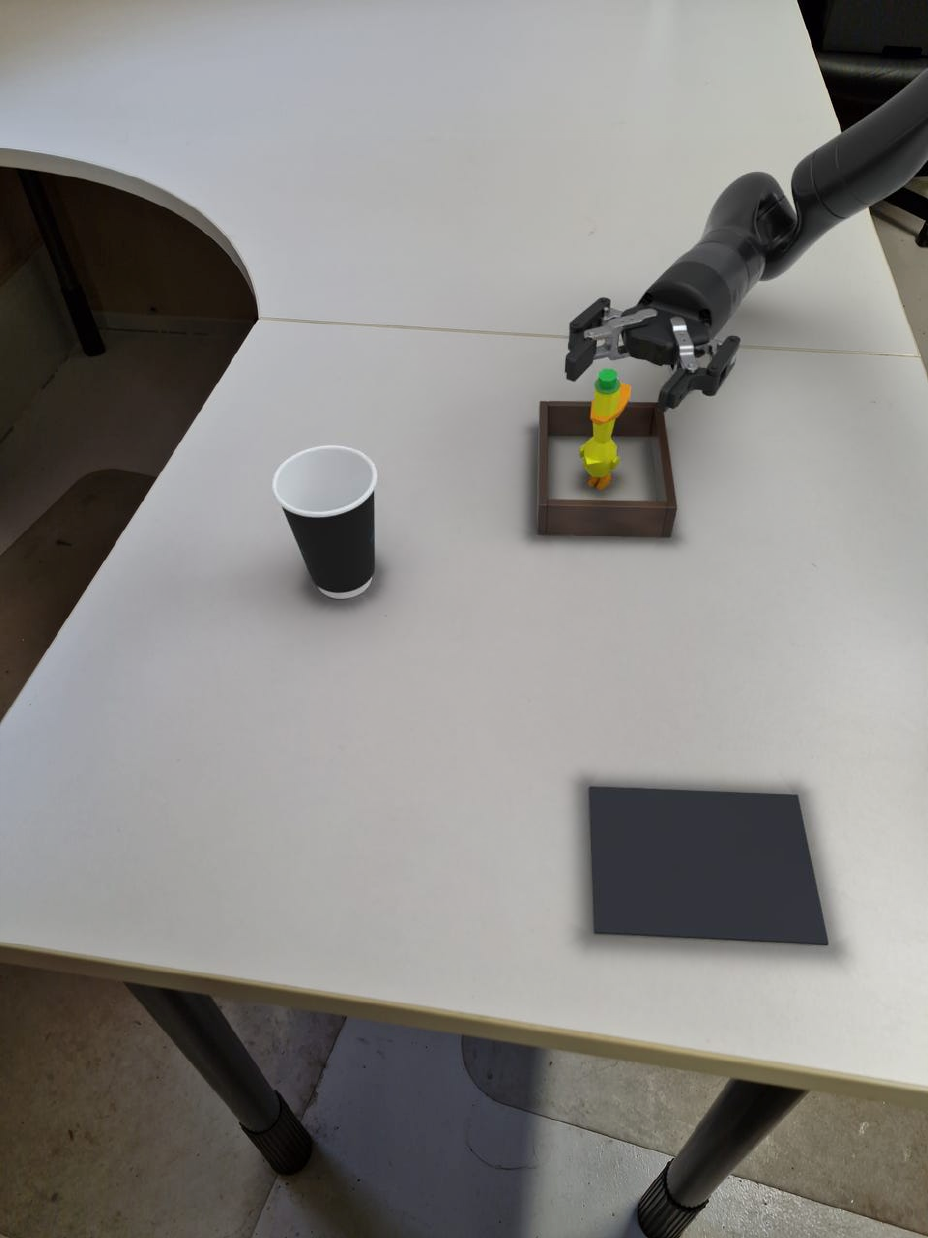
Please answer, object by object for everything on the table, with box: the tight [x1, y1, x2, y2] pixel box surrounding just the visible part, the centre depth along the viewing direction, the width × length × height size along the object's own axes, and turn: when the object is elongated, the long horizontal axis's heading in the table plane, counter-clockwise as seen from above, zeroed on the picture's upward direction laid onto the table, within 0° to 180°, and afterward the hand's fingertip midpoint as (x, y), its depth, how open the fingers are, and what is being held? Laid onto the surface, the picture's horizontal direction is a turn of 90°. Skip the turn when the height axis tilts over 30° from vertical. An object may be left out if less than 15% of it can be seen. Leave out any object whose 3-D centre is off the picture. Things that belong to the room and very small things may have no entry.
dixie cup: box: [271, 444, 379, 600], centre depth 68 cm, size 8×8×11 cm
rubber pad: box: [588, 785, 829, 946], centre depth 55 cm, size 14×10×1 cm
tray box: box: [536, 400, 678, 538], centre depth 78 cm, size 12×15×4 cm
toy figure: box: [578, 368, 632, 491], centre depth 75 cm, size 7×4×12 cm, turn 148°
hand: (614, 386), depth 72 cm, fingers open, 8 cm apart
